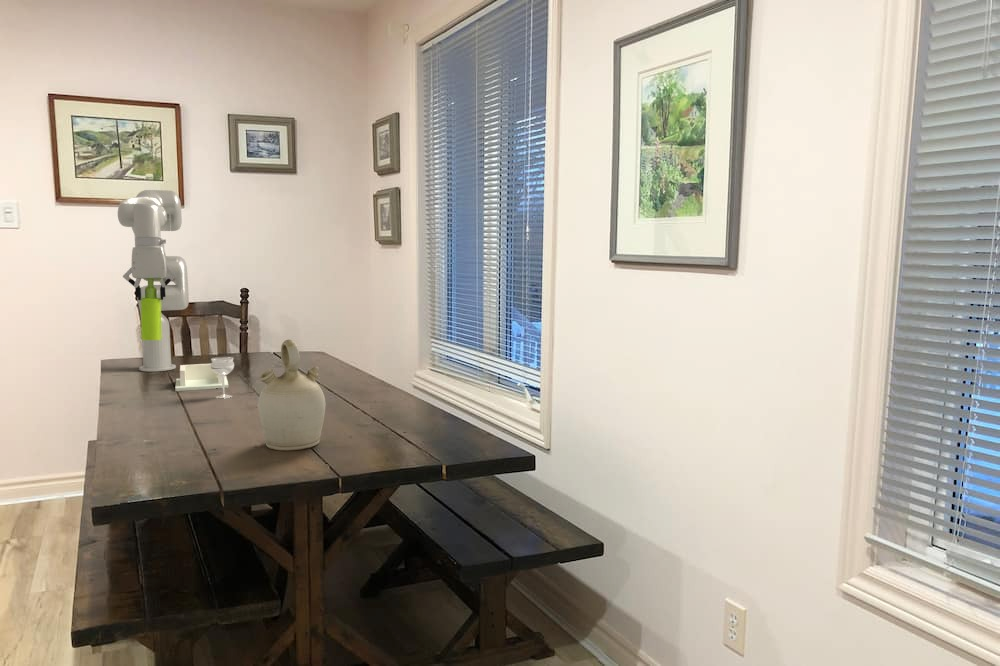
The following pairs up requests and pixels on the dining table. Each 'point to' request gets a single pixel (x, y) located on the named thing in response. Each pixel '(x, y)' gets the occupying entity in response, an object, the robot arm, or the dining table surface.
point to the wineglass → (222, 369)
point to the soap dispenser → (151, 313)
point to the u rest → (199, 378)
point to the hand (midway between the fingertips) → (150, 299)
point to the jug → (291, 404)
